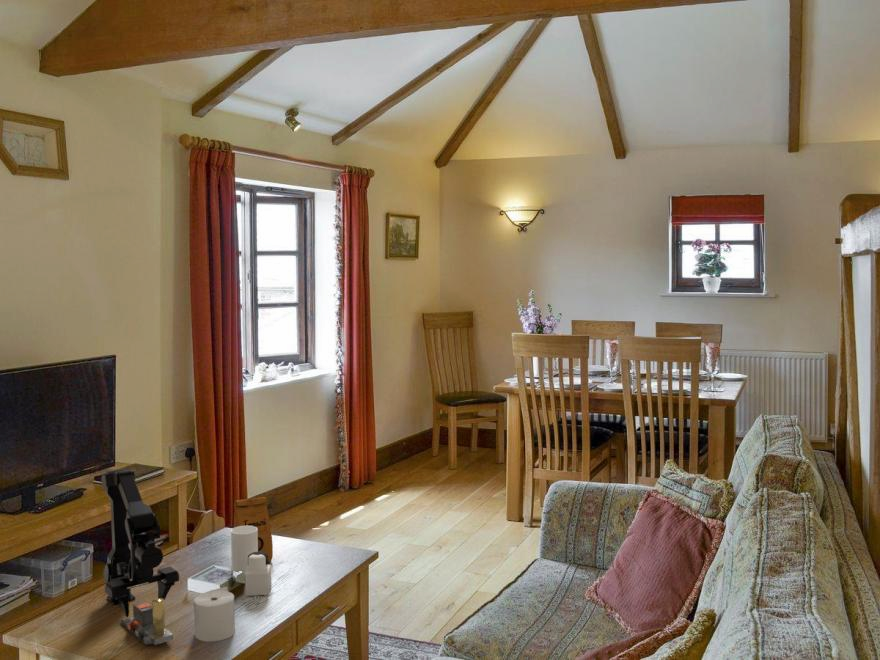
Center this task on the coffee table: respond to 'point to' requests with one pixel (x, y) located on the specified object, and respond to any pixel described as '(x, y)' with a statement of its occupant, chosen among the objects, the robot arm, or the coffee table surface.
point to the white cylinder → (243, 546)
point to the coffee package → (255, 521)
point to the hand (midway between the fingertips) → (143, 611)
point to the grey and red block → (143, 613)
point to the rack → (153, 626)
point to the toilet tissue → (214, 615)
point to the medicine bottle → (258, 575)
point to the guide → (124, 623)
